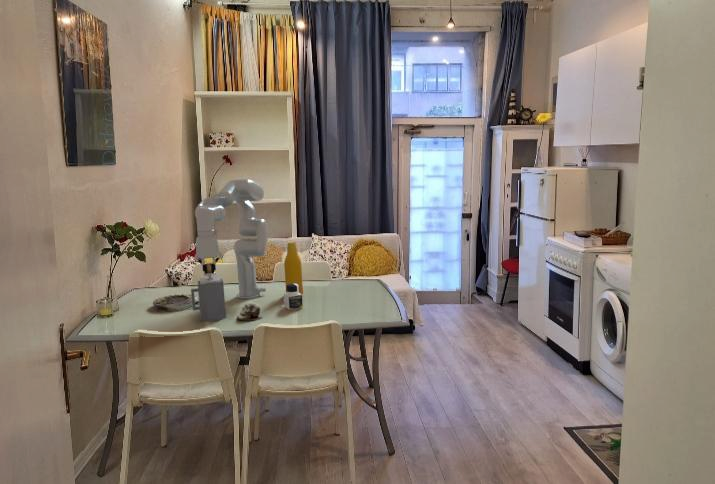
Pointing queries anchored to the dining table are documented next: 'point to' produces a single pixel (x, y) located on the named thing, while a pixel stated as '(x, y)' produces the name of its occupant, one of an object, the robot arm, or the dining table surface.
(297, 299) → the medicine bottle
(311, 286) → the dining table surface
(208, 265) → the plunger
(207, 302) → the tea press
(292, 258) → the beer bottle
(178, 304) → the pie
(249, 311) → the skull
